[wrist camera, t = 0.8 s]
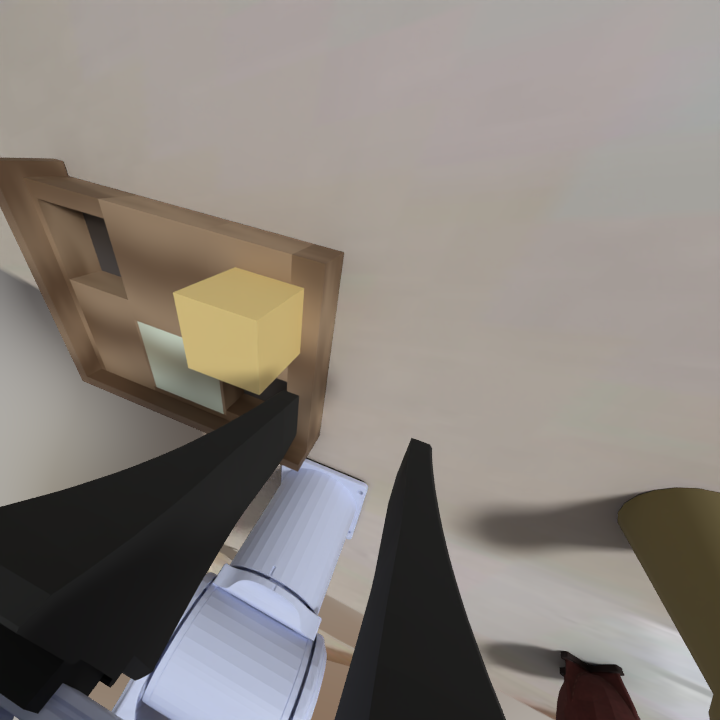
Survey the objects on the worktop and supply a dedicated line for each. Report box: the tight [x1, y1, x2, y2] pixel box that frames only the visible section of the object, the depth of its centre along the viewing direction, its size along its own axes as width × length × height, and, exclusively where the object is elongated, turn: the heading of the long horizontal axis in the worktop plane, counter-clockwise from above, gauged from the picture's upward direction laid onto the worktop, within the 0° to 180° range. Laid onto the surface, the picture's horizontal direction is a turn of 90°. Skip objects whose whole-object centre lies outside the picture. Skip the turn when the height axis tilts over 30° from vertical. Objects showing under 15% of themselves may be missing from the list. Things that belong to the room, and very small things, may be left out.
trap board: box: [0, 158, 344, 472], centre depth 20 cm, size 16×20×4 cm
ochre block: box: [173, 267, 304, 395], centre depth 15 cm, size 4×4×4 cm
